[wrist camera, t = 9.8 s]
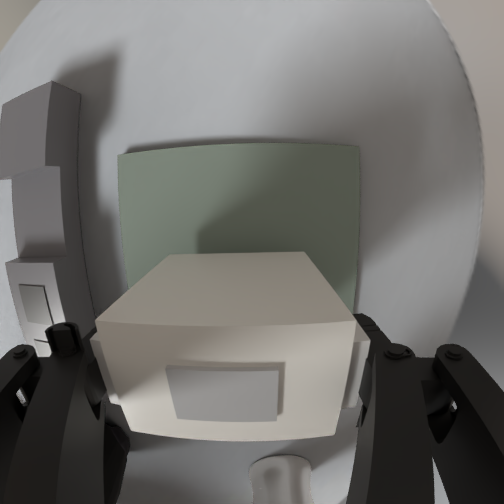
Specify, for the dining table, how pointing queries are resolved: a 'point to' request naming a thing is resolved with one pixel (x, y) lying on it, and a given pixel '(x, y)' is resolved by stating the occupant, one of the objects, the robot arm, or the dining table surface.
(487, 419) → the robot arm
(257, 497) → the beer glass
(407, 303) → the dining table surface
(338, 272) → the mat
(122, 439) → the portable speaker
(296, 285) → the block
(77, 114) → the power strip
